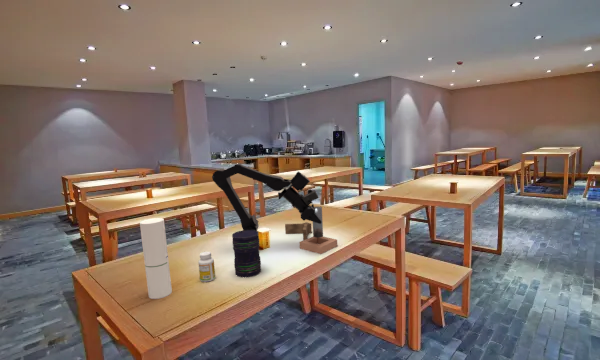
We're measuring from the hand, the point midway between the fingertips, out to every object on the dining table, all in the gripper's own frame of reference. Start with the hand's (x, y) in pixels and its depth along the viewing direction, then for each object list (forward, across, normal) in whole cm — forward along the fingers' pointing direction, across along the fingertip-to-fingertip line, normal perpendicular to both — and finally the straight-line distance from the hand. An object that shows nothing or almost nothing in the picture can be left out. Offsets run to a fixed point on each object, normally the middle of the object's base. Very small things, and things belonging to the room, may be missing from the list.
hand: (320, 221), depth 141 cm
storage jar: (-12, -23, +29) cm, 39 cm away
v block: (+2, +20, +15) cm, 25 cm away
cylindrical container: (-31, -37, +49) cm, 69 cm away
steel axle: (+4, 0, +6) cm, 7 cm away
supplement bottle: (-22, -28, +39) cm, 53 cm away
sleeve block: (+7, 0, +9) cm, 12 cm away
